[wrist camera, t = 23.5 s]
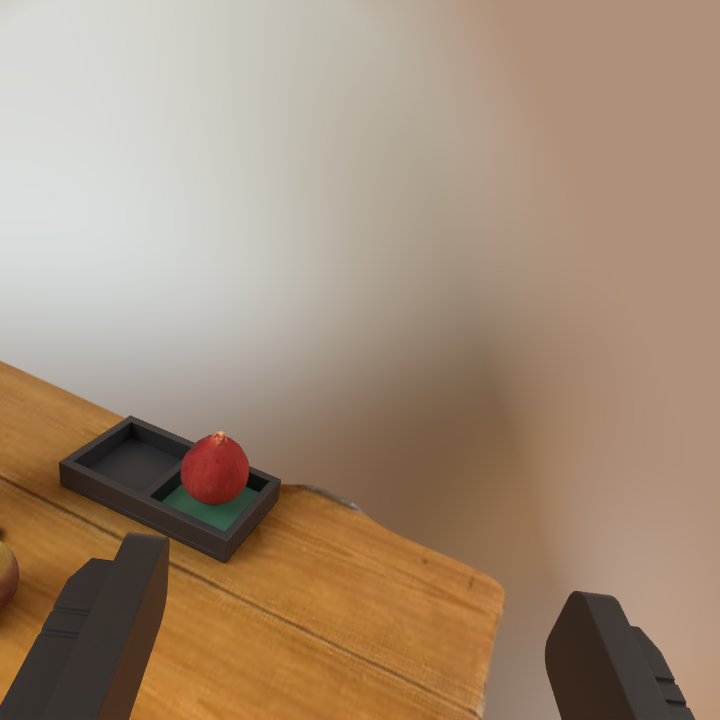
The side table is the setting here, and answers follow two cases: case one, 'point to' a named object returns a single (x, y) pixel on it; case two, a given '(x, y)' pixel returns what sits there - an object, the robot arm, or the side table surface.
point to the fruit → (7, 575)
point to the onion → (215, 470)
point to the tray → (164, 488)
